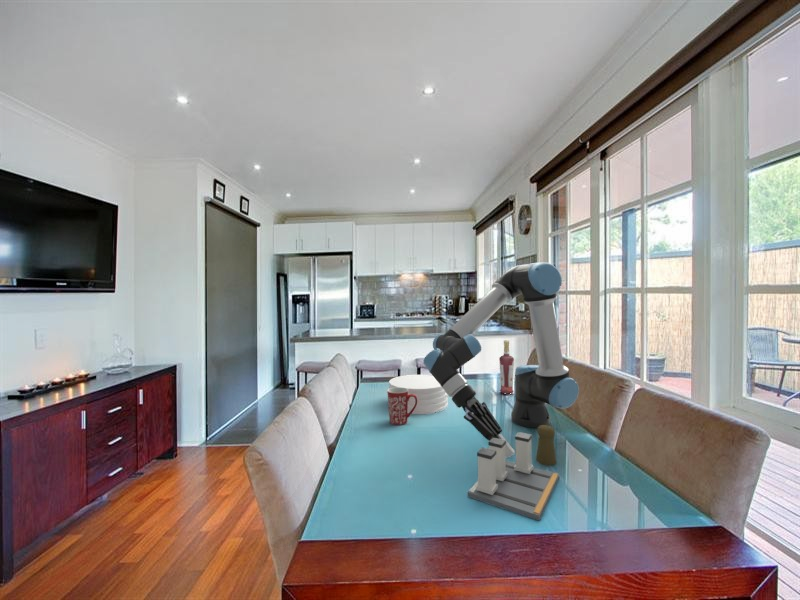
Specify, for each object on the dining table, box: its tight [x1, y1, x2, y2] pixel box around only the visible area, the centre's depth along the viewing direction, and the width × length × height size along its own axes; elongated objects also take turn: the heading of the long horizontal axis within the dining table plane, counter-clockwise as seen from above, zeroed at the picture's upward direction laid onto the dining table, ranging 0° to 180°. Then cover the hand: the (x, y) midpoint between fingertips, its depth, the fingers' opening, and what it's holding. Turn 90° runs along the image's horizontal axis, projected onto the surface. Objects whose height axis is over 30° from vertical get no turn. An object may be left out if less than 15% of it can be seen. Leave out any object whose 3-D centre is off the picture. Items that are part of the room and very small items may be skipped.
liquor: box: [498, 340, 515, 395], centre depth 188 cm, size 7×7×28 cm
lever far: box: [476, 447, 498, 495], centre depth 93 cm, size 4×4×10 cm
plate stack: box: [388, 374, 449, 415], centre depth 171 cm, size 28×28×12 cm
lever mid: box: [487, 437, 508, 481], centre depth 100 cm, size 4×4×10 cm
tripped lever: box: [514, 431, 534, 474], centre depth 104 cm, size 4×4×10 cm
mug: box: [386, 387, 417, 426], centre depth 147 cm, size 13×9×14 cm
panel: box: [467, 459, 560, 522], centre depth 97 cm, size 18×23×1 cm
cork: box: [535, 425, 557, 467], centre depth 112 cm, size 6×6×11 cm
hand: (511, 455), depth 106 cm, fingers closed
